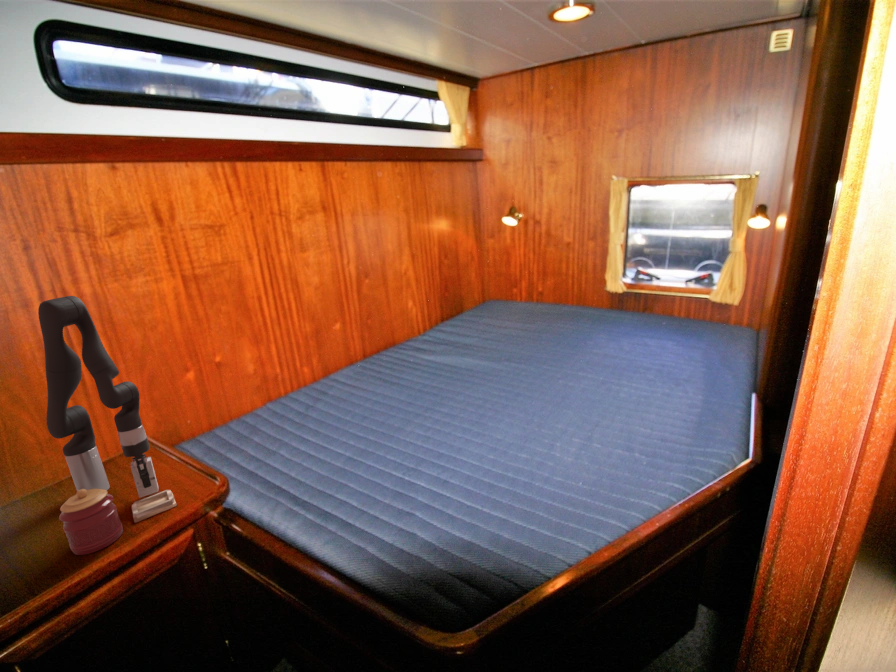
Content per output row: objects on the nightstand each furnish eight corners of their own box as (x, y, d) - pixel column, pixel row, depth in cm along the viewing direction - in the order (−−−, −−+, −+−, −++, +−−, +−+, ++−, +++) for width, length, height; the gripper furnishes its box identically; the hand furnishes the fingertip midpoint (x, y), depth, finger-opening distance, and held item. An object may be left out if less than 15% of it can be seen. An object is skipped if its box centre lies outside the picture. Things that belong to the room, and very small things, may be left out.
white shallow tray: (132, 509, 153) (130, 503, 153) (172, 494, 160) (170, 487, 160) (134, 522, 145) (132, 516, 145) (176, 505, 152) (174, 499, 152)
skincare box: (139, 498, 157) (129, 467, 154) (139, 493, 161) (129, 462, 158) (159, 491, 160) (150, 460, 157) (159, 486, 164) (150, 455, 161)
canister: (97, 527, 145) (80, 478, 141) (134, 526, 144) (118, 476, 140) (60, 556, 133) (40, 503, 129) (99, 555, 131) (80, 502, 127)
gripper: (119, 437, 159) (132, 480, 163) (121, 450, 148) (136, 496, 152) (144, 429, 163) (156, 472, 167) (148, 442, 152) (162, 487, 156)
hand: (147, 483), depth 160 cm, fingers closed on skincare box, 4 cm apart
